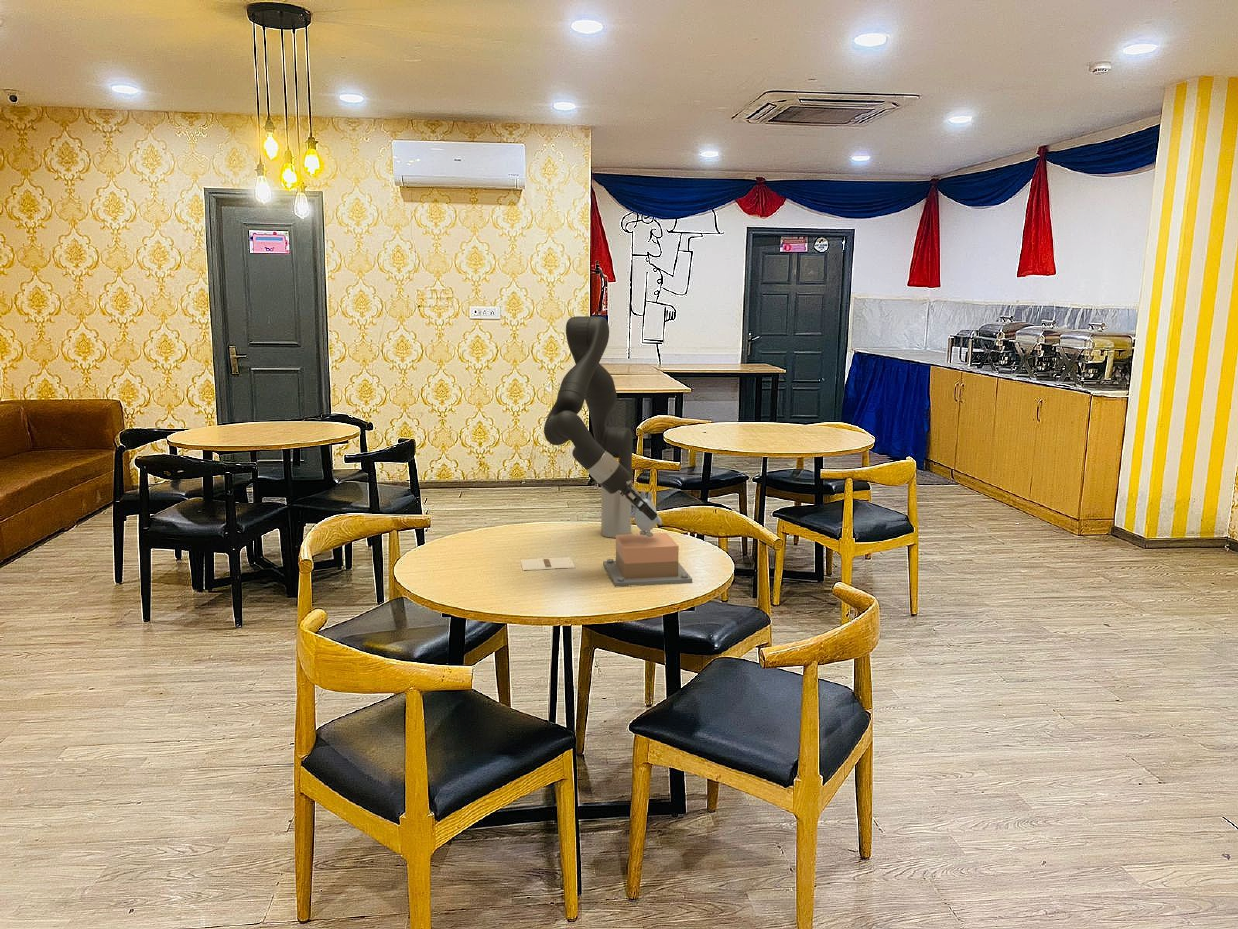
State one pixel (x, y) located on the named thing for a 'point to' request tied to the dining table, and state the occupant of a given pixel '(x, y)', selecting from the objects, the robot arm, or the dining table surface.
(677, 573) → the orange square pedestal
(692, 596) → the dining table surface
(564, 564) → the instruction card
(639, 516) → the toy figure
